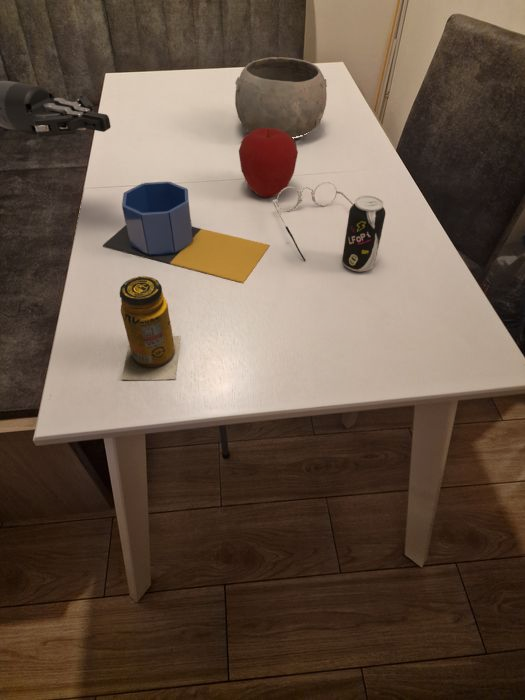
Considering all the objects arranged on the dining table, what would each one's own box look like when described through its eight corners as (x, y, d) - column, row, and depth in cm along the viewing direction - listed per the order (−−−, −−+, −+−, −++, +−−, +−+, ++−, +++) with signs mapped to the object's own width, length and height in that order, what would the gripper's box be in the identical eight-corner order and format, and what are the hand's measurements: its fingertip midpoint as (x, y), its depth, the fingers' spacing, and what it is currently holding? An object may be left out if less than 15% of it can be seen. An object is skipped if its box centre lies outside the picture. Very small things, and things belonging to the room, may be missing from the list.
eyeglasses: (340, 200, 101) (343, 178, 97) (380, 249, 88) (385, 225, 85) (266, 211, 97) (267, 188, 94) (297, 263, 85) (298, 239, 81)
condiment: (180, 336, 72) (170, 270, 63) (175, 379, 66) (163, 313, 57) (131, 337, 72) (114, 271, 63) (121, 381, 66) (101, 314, 57)
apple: (306, 197, 102) (311, 132, 92) (258, 211, 97) (258, 145, 88) (275, 174, 109) (277, 112, 99) (230, 186, 104) (227, 123, 95)
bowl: (273, 158, 114) (274, 90, 104) (217, 128, 127) (213, 64, 116) (341, 134, 125) (350, 69, 114) (284, 108, 137) (286, 48, 126)
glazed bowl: (130, 258, 85) (120, 215, 79) (133, 225, 93) (124, 183, 87) (193, 254, 86) (189, 211, 80) (191, 221, 94) (187, 180, 88)
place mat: (102, 246, 88) (102, 245, 88) (138, 215, 96) (138, 213, 96) (243, 283, 81) (243, 281, 81) (269, 246, 89) (269, 244, 88)
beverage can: (379, 272, 83) (393, 209, 75) (347, 276, 82) (358, 213, 74) (367, 253, 87) (379, 191, 79) (337, 257, 86) (346, 195, 78)
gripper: (-18, 96, 75) (74, 113, 70) (40, 71, 83) (125, 85, 79) (0, 145, 80) (87, 163, 76) (53, 117, 89) (134, 132, 84)
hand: (107, 123), depth 77 cm, fingers closed
